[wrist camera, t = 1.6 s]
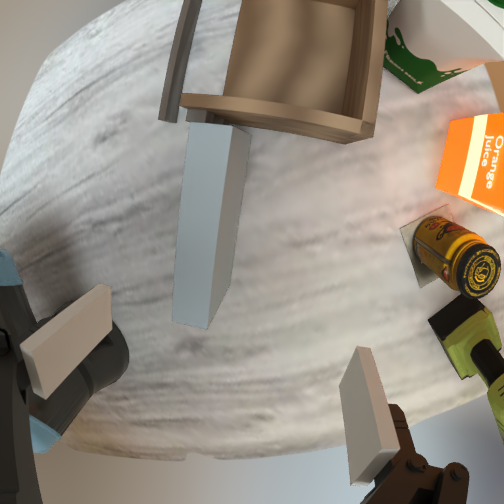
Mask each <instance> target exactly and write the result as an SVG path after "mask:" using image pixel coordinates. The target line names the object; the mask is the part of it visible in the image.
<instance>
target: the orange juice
mask: <svg viewBox="0 0 504 504" xmlns="http://www.w3.org/2000/svg"><path fill="white" fill-rule="evenodd" d="M435 188H437V189H439V190H442V191H444V192H446V193H449V194H451V195H453V196H456V197H458V198H460V199H463V200H465V201H467V202H469V203H471V204H474V205H476V206H478V207H480V208H483V209H486V210H489V211H491V212H494V213H497V214H499V215H502V216H504V113H497V114H490V115H488V114H486V115H480V116H475V117H471V118H465V119H459V120H453V121H450V126H449V131H448V136H447V141H446V146H445V150H444V155H443V159H442V163H441V167H440V171H439V175H438V179H437V183H436V187H435Z"/></svg>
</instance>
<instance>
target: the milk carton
mask: <svg viewBox="0 0 504 504" xmlns="http://www.w3.org/2000/svg"><path fill="white" fill-rule="evenodd" d="M497 61H498V62H504V0H400V1H399V2H398V4H397V5H396V7H395V8H394V10H393V11H392V13H391V14H390V16H389V17H388V18H387V25H386V39H385V50H384V61H383V67H385V68H386V69H388V70H389V71H390V72H391V73H393V74H394V75H395V76H397V77H398V78H399V79H400V80H402V81H403V82H404V83H406V84H407V85H408V86H409V87H410V88H412V89H413V90H414V91H415V92H416V93H418V94H419V93H421V92H423V91H425V90H427V89H429V88H431V87H433V86H435V85H437V84H439V83H441V82H443V81H445V80H447V79H449V78H452V77H454V76H456V75H458V74H461V73H463V72H465V71H468V70H470V69H472V68H475V67H477V66H479V65H482V64H484V63H486V62H497Z"/></svg>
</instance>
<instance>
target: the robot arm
mask: <svg viewBox="0 0 504 504" xmlns="http://www.w3.org/2000/svg"><path fill="white" fill-rule="evenodd" d="M22 284H23V280H22V279H20V276H19V273H18V271H17V268H16V265H15V262H14V260H13V257H12V255H11V254H10V253H9V252H8V251H7V250H5V249H0V504H43V502H42V498H41V493H40V489H39V484H38V480H37V474H36V468H35V462H34V455H33V452H35V453H45V452H47V451H48V450H49V449H50V448H51V447H52V446H53V445H54V444H55V443H56V442H57V440H60V439H61V436H62V435H63V433H64V432H65V431H66V429H67V428H68V427H69V425H70V424H71V423H72V421H73V420H74V419H75V417H76V416H77V414H78V413H79V412H80V410H81V409H82V408H83V406H84V405H85V404H86V402H87V401H88V400H89V399H90V397H91V396H92V395H93V394H94V393H96V392H97V391H99V390H101V389H103V388H104V387H106V386H108V385H110V384H112V383H114V382H116V381H117V380H118V379H119V378H120V377H121V376H122V374H123V373H124V372H125V370H126V369H127V366H128V362H129V354H128V349H127V345H126V343H125V340H124V338H123V336H122V334H121V333H120V331H119V329H118V328H117V327H116V325H115V324H114V323H113V322H112V305H111V287H110V286H107V285H104V284H101V283H100V284H98V285H97V286H95V287H94V288H93V289H91V290H90V291H89V292H87V293H86V294H85V295H83V296H82V297H80V298H79V299H78V300H76V301H70V302H67V303H66V304H64V305H63V306H61V307H60V308H59V309H57V310H56V311H55V313H54V314H53V316H52V317H48V318H45V319H42V320H40V321H39V322H38V323H37V322H36V320H35V317H34V315H33V312H32V310H31V307H30V305H29V302H28V299H27V296H26V294H25V291H24V288H23V285H22ZM339 389H340V396H341V403H342V411H343V419H344V427H345V435H346V444H347V453H348V462H349V474H350V485H351V486H368V485H369V484H370V483H371V482H372V481H373V480H374V482H375V487H374V488H373V489H372V490H371V491H370V492H369V493H368V494H367V495H366V496H365V499H364V500H363V501H362V502H361V503H360V504H466V500H467V493H468V485H469V472H468V470H467V468H466V467H465V466H463V465H462V464H460V463H456V462H453V463H450V464H448V465H447V466H446V467H445V468H444V469H443V468H438V467H434V466H430V465H428V462H427V460H426V459H425V458H424V457H423V456H422V455H420V454H417V453H416V451H415V447H414V444H413V441H412V437H411V434H410V431H409V429H408V424H407V422H406V418H405V415H404V412H403V411H402V410H401V409H400V407H399V406H398V405H397V404H388V403H387V399H386V396H385V393H384V389H383V386H382V383H381V380H380V376H379V373H378V370H377V367H376V364H375V361H374V358H373V355H372V352H371V349H370V348H365V347H359V346H357V347H356V349H355V351H354V354H353V356H352V358H351V361H350V363H349V365H348V367H347V370H346V372H345V374H344V376H343V378H342V380H341V383H340V385H339Z"/></svg>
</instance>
